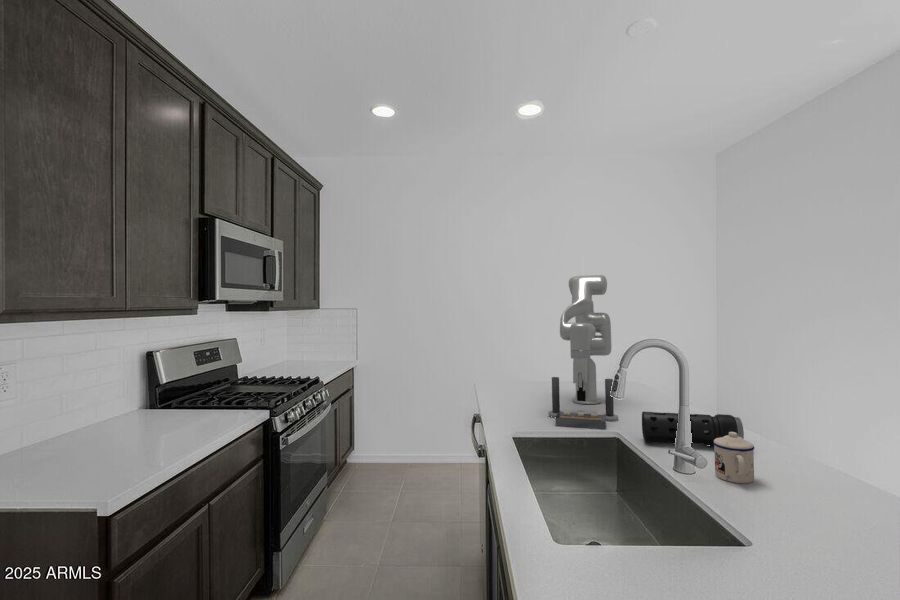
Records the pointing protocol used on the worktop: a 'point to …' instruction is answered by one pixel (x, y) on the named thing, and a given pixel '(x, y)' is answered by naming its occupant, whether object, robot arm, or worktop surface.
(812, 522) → the worktop surface
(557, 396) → the post
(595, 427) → the breaker panel
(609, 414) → the post
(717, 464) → the teacup with lid
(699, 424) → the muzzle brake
